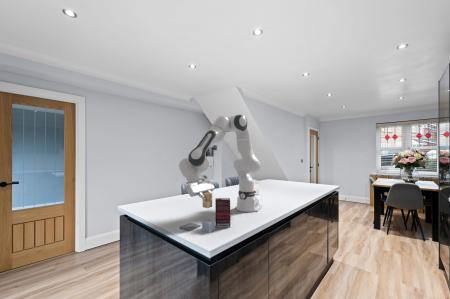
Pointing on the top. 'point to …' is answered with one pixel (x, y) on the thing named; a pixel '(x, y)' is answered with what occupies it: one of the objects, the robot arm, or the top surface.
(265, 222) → the top surface
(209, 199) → the oak block
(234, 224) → the top surface
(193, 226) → the charcoal mat
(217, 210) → the supplement box
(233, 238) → the top surface
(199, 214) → the top surface
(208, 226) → the blue-grey cube
